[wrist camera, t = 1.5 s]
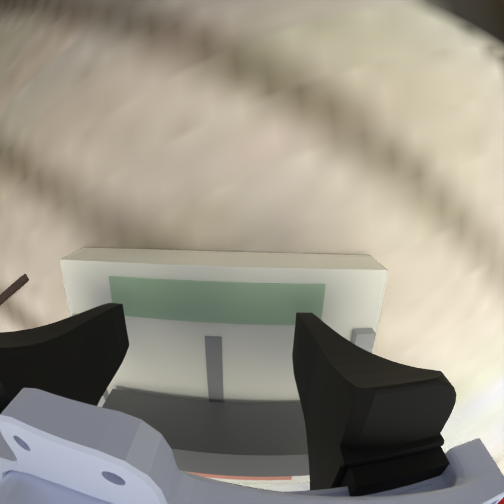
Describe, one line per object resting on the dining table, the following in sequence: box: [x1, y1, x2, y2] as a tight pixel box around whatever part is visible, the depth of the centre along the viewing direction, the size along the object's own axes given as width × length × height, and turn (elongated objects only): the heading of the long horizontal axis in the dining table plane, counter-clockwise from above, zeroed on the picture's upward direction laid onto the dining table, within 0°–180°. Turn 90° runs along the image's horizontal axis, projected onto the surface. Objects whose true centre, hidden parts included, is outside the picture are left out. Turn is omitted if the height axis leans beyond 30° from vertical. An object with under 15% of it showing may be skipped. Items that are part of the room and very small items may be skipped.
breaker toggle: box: [102, 389, 309, 477], centre depth 13 cm, size 2×12×4 cm, turn 89°
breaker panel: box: [60, 247, 388, 483], centre depth 16 cm, size 17×16×3 cm
